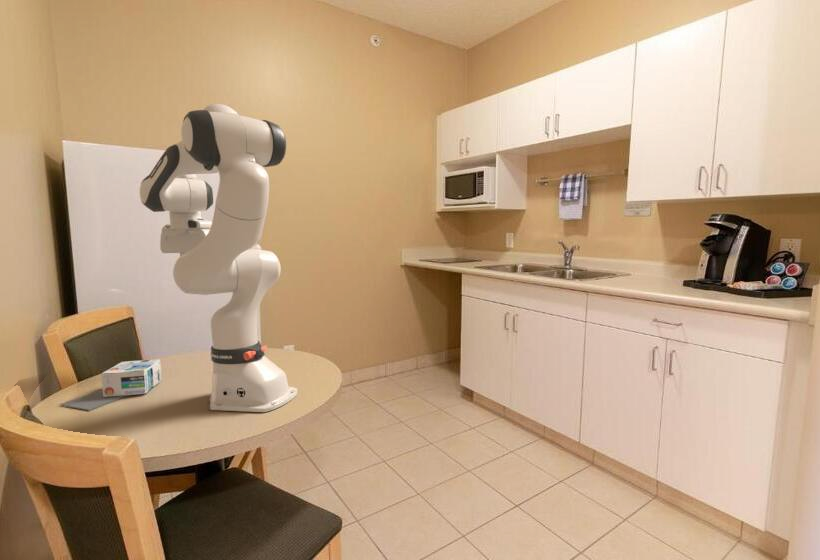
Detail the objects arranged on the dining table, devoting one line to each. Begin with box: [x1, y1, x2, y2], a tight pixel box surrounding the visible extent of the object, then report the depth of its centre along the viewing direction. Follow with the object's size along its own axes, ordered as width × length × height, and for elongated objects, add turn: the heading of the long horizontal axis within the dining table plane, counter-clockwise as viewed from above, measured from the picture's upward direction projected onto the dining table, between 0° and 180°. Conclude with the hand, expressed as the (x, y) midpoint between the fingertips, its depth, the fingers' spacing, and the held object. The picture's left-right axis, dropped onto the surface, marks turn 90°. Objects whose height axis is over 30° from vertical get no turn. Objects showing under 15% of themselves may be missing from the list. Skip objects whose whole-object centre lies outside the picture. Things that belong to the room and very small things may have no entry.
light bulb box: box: [100, 359, 163, 397], centre depth 113 cm, size 11×7×11 cm
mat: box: [59, 389, 130, 412], centre depth 108 cm, size 11×14×1 cm
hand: (190, 267), depth 129 cm, fingers closed
